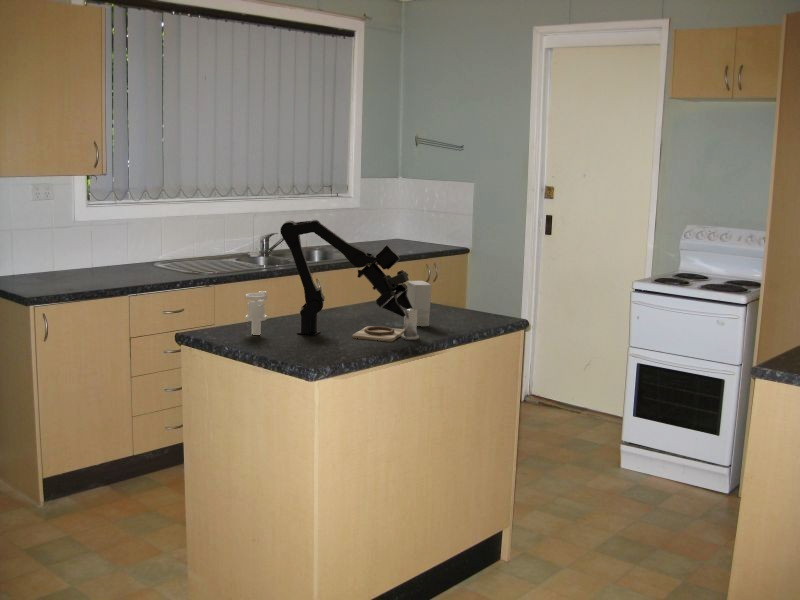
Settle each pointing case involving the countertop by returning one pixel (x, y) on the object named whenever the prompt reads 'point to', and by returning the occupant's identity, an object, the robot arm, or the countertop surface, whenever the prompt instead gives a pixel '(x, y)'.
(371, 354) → the countertop surface
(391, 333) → the maple board
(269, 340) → the countertop surface
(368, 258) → the robot arm
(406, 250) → the countertop surface
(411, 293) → the skincare box
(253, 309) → the grey stepped cylinder
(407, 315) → the aluminium hub pin
